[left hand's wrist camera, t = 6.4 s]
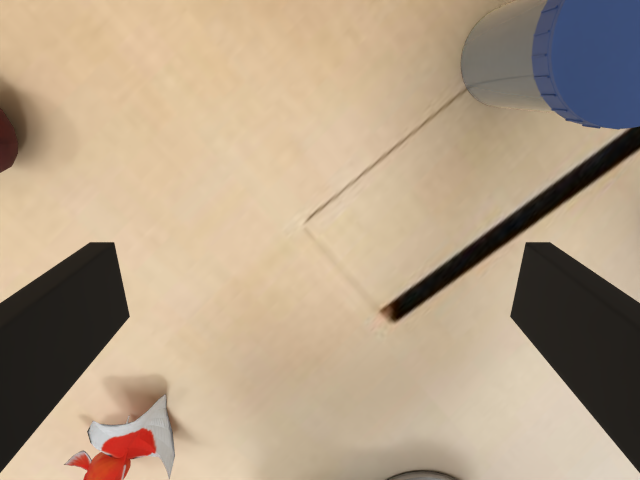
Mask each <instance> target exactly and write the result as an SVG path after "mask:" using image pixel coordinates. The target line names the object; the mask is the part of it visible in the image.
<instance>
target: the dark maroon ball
mask: <svg viewBox="0 0 640 480" xmlns="http://www.w3.org/2000/svg"><path fill="white" fill-rule="evenodd" d="M17 154H18V141H17V138H16V134H15V131H14V128H13V126H12V124H11V123H10V121H9V120H8V118H7V117H6V115H5V113H4V112H3V110H1V109H0V173H1V172H3V171H4V170H6V169H8V168H10V167H11V166H12V165H13V163H14V161H15V159H16V157H17Z"/></svg>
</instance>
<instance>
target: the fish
mask: <svg viewBox="0 0 640 480" xmlns="http://www.w3.org/2000/svg"><path fill="white" fill-rule="evenodd" d="M128 420H129V416H128V419H127V422H126V424H124V425H105V424H99V423H97V422H95V421H93V422H92V424H91V426H90V428H89V429H88V431H87V432H88V436H89V439H90V442H91V444H92V445H93V446H94V447H95V448H96V449H98V450H100V451H101V453H99V454H98V455H96V456H95V457H94V458H93V460H91V458H90V457H89V455H88V454H87V453H86V452H85V451H81V452H79V453H77V454H75V455H74V456H72V457H71V458H70V459H69V460H68V461H67V462H66V463H65V464H64V465H70V466H77V467H81V468H83V469H85V470H87V473H86V474H85V477H84V480H123V479H124V478H125V476H126V475H127V473H128V470H129V468H130V463H131V461H130V459H135V458H140V457H144V456H154V457H159V458H160V459H161V460H162V462H163V464H164V466H165V468H166V470H167V473H168V477H169V479H170V475H171V470H172V466H173V462H174V457H175V452H174V442H173V433H172V429H171V425H170V421H169V417H168V413H167V409H166V394H165V395H163V396H162V397H161V398H160V399H159V400H158V401H157V402H156V403H155V404H154V405H153V406H152V407H151V408H150V409H149V410H148V411H147V412H145V413H144V414H143V415H142V416H141V417H139V418H138V419H137V420H135V421H134V422H131V423H128Z"/></svg>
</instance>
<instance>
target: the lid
mask: <svg viewBox="0 0 640 480" xmlns="http://www.w3.org/2000/svg"><path fill="white" fill-rule="evenodd" d="M533 36H534V39H533V46H532V56H531V58H532V68H533V74H534V77H533V78H534V79H535V82H536V85H537V87H538V90H539V92H540V94H541V95H540V96H541V97H543V99H544V100H545V102H546V103H547V104H548V105H549V107H550V108H552V109H551V110H552V111H555V112H556V113H557V114H559V115H560V116H562V117H563V118H565V119H566V121H572V122H574V123H578V124H582V126H586V127H593V128H600V127H604V128H612V129H623V128H632V127H638V126H640V0H548V1H547V3H546V5H545V7H544V9H543V10H542V11H541V15H540V18H539V21H538V23H537V27H536V30H535V34H533Z"/></svg>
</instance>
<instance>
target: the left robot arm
mask: <svg viewBox="0 0 640 480" xmlns="http://www.w3.org/2000/svg"><path fill="white" fill-rule="evenodd" d="M129 317H130V316H129V311H128V306H127V301H126V297H125V292H124V287H123V282H122V278H121V273H120V268H119V263H118V258H117V254H116V249H115V244H114V242H90V243H88V244H87V245H86V246H84V247H83V248H81V249H80V250H78V251H77V252H75V253H74V254H72V255H71V256H69V257H68V258H66V259H65V260H63V261H62V262H60V263H59V264H57V265H56V266H55V267H53V268H52V269H50V270H49V271H47V272H46V273H44V274H43V275H41V276H40V277H38V278H37V279H35V280H34V281H32V282H31V283H29V284H28V285H26V286H25V287H23V288H22V289H21V290H19V291H18V292H16V293H15V294H13V295H12V296H10V297H9V298H7V299H6V300H4V301H3V302H1V303H0V473H1V471H2V470H3V469H4V468H5V467H6V465H7V464H8V463H9V462H10V461H11V459H12V458H13V457H14V456H15V455H16V453H17V452H18V451H19V450H20V448H21V447H22V446H23V445H24V444H25V442H26V441H27V440H28V439H29V438H30V436H31V435H32V434H33V433H34V432H35V430H36V429H37V428H38V427H39V426H40V424H41V423H42V422H43V421H44V419H45V418H46V417H47V416H48V415H49V413H50V412H51V411H52V410H53V409H54V407H55V406H56V405H57V404H58V403H59V401H60V400H61V399H62V398H63V397H64V395H65V394H66V393H67V392H68V390H69V389H70V388H71V387H72V386H73V384H74V383H75V382H76V381H77V380H78V378H79V377H80V376H81V375H82V374H83V372H84V371H85V370H86V369H87V368H88V366H89V365H90V364H91V363H92V362H93V360H94V359H95V358H96V357H97V355H98V354H99V353H100V352H101V351H102V349H103V348H104V347H105V346H106V345H107V343H108V342H109V341H110V340H111V339H112V337H113V336H114V335H115V334H116V333H117V331H118V330H119V329H120V328H121V326H122V325H123V324H124V323H125V322H126V320H127V319H128V318H129ZM510 317H511V318H512V319H513V320H514V322H515V323H516V324H517V325H518V326H519V328H520V329H521V330H522V331H523V333H524V334H525V335H526V336H527V337H528V339H529V340H530V341H531V342H532V343H533V345H534V346H535V347H536V348H537V349H538V351H539V352H540V353H541V354H542V355H543V357H544V358H545V359H546V360H547V362H548V363H549V364H550V365H551V366H552V368H553V369H554V370H555V371H556V372H557V374H558V375H559V376H560V377H561V378H562V380H563V381H564V382H565V383H566V384H567V386H568V387H569V388H570V389H571V390H572V392H573V393H574V394H575V395H576V397H577V398H578V399H579V400H580V401H581V403H582V404H583V405H584V406H585V407H586V409H587V410H588V411H589V412H590V413H591V415H592V416H593V417H594V418H595V419H596V421H597V422H598V423H599V424H600V426H601V427H602V428H603V429H604V430H605V432H606V433H607V434H608V435H609V436H610V438H611V439H612V440H613V441H614V442H615V444H616V445H617V446H618V447H619V448H620V450H621V451H622V452H623V453H624V455H625V456H626V457H627V458H628V459H629V461H630V462H631V463H632V464H633V465H634V467H635V468H636V469H637V470H638V471H639V473H640V303H639V302H637V301H636V300H634V299H633V298H631V297H630V296H628V295H627V294H625V293H624V292H622V291H621V290H619V289H618V288H617V287H615V286H614V285H612V284H611V283H609V282H608V281H606V280H605V279H603V278H602V277H600V276H599V275H597V274H596V273H594V272H593V271H591V270H590V269H588V268H587V267H585V266H584V265H583V264H581V263H580V262H578V261H577V260H575V259H574V258H572V257H571V256H569V255H568V254H566V253H565V252H563V251H562V250H560V249H559V248H557V247H556V246H554V245H553V244H552V243H550V242H526V244H525V249H524V254H523V258H522V263H521V268H520V273H519V278H518V282H517V287H516V292H515V297H514V301H513V306H512V311H511V316H510ZM388 480H456V479H454V478H452V477H450V476H448V475H445V474H441V473H437V472H429V471H417V472H409V473H405V474H401V475H398V476H395V477H393V478H390V479H388Z"/></svg>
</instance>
